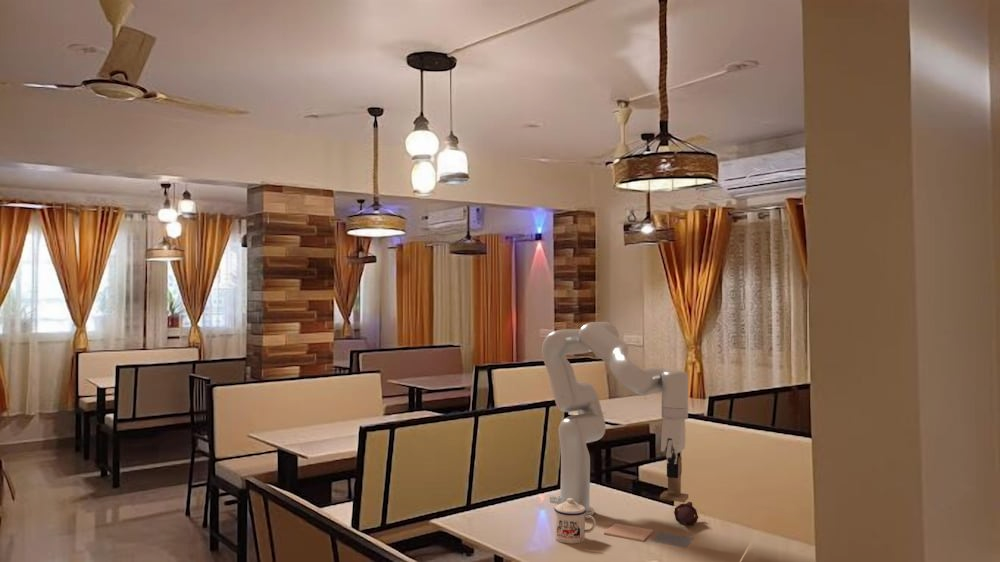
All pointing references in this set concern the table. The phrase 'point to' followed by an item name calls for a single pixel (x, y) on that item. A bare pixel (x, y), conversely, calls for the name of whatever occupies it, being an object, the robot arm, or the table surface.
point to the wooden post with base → (675, 487)
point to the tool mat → (672, 539)
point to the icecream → (686, 514)
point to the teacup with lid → (571, 522)
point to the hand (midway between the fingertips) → (674, 475)
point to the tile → (628, 532)
